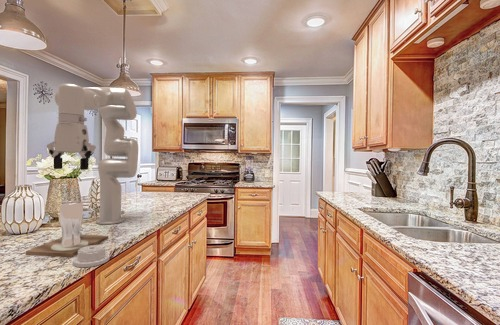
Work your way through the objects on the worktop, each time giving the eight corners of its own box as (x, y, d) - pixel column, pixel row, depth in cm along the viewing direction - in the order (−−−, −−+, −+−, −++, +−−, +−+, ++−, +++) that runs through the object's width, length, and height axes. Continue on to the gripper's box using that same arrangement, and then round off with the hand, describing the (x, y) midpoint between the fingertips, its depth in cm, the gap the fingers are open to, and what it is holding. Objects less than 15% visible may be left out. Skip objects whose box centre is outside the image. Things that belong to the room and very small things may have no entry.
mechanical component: (64, 266, 81) (94, 269, 79) (64, 252, 81) (94, 254, 79) (89, 255, 91) (116, 257, 89) (89, 242, 91) (116, 244, 89)
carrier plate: (70, 236, 109) (70, 231, 109) (108, 238, 108) (108, 232, 108) (25, 254, 89) (25, 247, 89) (71, 257, 88) (71, 249, 88)
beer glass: (68, 241, 99) (69, 200, 99) (87, 241, 99) (87, 201, 98) (54, 247, 92) (54, 203, 92) (74, 248, 92) (74, 204, 92)
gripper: (101, 122, 98) (101, 169, 98) (56, 121, 99) (56, 168, 99) (87, 119, 90) (87, 170, 91) (39, 118, 91) (38, 169, 92)
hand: (71, 169), depth 95 cm, fingers open, 9 cm apart
